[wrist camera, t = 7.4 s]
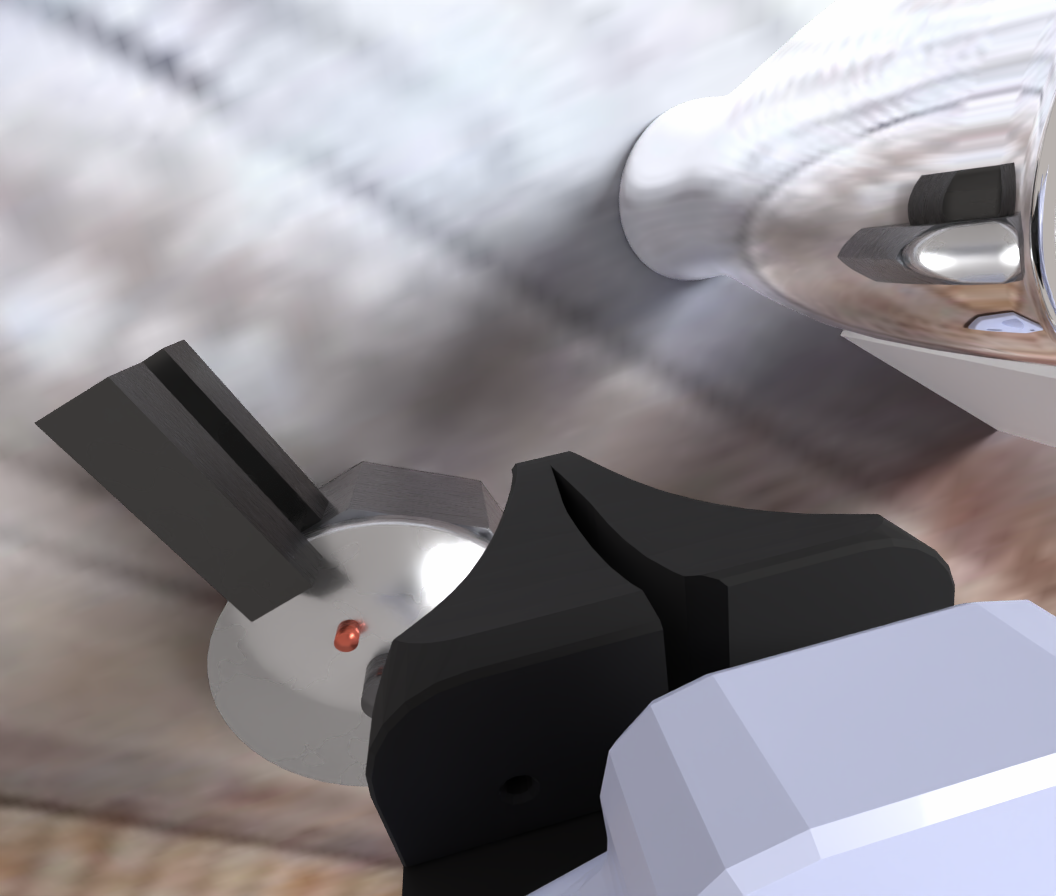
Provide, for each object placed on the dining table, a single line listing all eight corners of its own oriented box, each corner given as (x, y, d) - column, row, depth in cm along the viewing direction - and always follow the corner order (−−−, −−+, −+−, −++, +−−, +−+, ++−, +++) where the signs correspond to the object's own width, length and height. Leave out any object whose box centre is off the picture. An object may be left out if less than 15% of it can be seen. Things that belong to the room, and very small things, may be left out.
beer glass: (593, 283, 20) (931, 387, 6) (622, 70, 18) (1277, -501, 4) (754, 298, 21) (1317, 408, 8) (802, 101, 19) (1765, -247, 5)
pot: (589, 633, 27) (614, 696, 23) (395, 745, 28) (390, 823, 24) (320, 257, 18) (292, 262, 15) (47, 434, 19) (-45, 482, 15)
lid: (599, 673, 22) (616, 721, 20) (355, 808, 23) (347, 869, 21) (307, 261, 14) (284, 266, 12) (-51, 484, 15) (-132, 527, 13)
